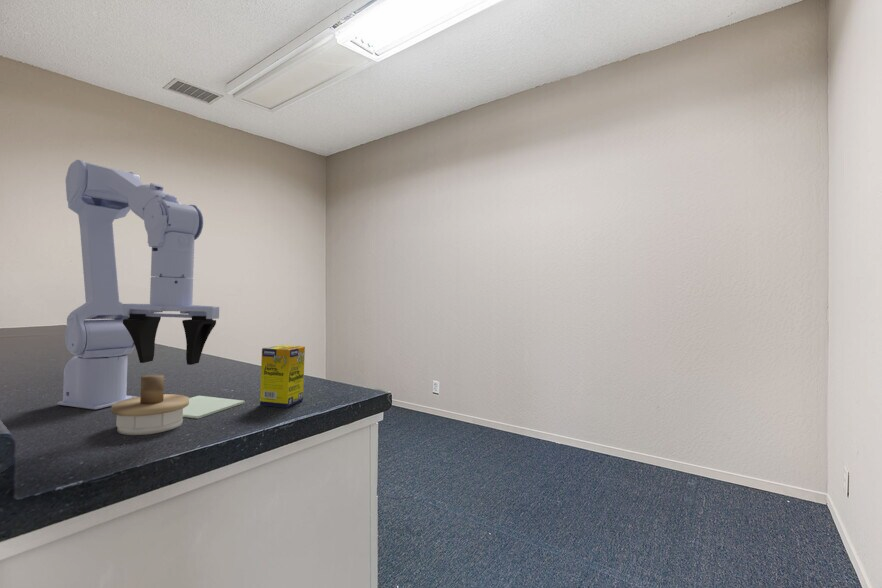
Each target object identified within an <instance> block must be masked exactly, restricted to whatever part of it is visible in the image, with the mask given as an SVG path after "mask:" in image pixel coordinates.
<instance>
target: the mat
mask: <svg viewBox="0 0 882 588" xmlns="http://www.w3.org/2000/svg"><path fill="white" fill-rule="evenodd" d="M188 398H189V405H188V406H186V407H184V408H183V418H190V419H197V420H198V419H201V418H204V417H208V416H210V415H214V414H216V413H219V412H222V411H225V410H228V409H231V408H234V407H236V406H239V405H242V404H246V401H245V400H241V399H234V398H233V399H232V398H225V397H224V398H223V397H214V396H207V395H196V396H193V397H188Z"/></svg>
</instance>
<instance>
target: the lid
mask: <svg viewBox="0 0 882 588" xmlns="http://www.w3.org/2000/svg"><path fill="white" fill-rule="evenodd" d="M164 387H165V375H164V374H148V375H143V376H140V396H135V397H134V398H130V399H125V400H122V401H119V402H116V403H114V404H113V405H112V406H111V409H110V410H111V413H112V414H113V415H115V416H117V415H119V416H147V415H156V414H163V413H168V412H172V411H176V410H179V409H182V408H184V407H186V406H188V405H189V398H190V397H189V396H187V395H185V394H184V395H183V394H175V393H174V394H172V393H171V394H170V393H169V394H168V393H165V391H164V390H165V388H164ZM164 393H165V394H164Z"/></svg>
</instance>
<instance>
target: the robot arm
mask: <svg viewBox="0 0 882 588" xmlns="http://www.w3.org/2000/svg"><path fill="white" fill-rule="evenodd" d="M65 190H66V193H65V194H66V202H67V205H68V206H67V209H69V210H71V211H73V213H75V214H77V215H78V223H79V233H80V234H79V235H80V246H81V258H82V270H83V272H82V274H83V283H84V296H85V297H84V298H85V303H83V304H82V305H80V306H78V307H77V308H75V309H74V310H72V311H71V312H69V315H68V316H67V318H66V329H65V333H64V343H65V347H66V350H67V351H68V352H69V353H70V354H72V355H73V357H71V358H70V359H69V360H68V361H67V363H65V366H64V367H63V368H64V369H63V387H62V388H63V389H62V390H63V391H62V400H60V401H58V402H57V403H56V404H57V405H59V406H65V407H75V408H81V409H88V410H99V409H103V408H108V407H112V405H113V404H114V403H116V402H119V401H122V400H125V399H130V398H134V397H136V395H135V396H134V395H127V388H128V387H127V385H128V378H127V377H128V357H129V356H128V355H129V354H131V355H132V353H133V351H134V349H135V350H136V353H137V356H138V361H139V363H141V364H144V363H149V362H153V361H154V357H155V349H156V348H155V345H156V336H157V332H158V328H159V324H160V322H161V318H183V319H182V321H181V322H182V327H183V330H184V334H185V341H186V347H185V348H186V349H185V350H186V351H185V359H186V364H187V366H192V365H196V364H199V363H200V359H201V355H202V353H203V349H204V347H205V345H206V342H207V341H208V337H209V335H210V334H211V332H212V330H213V329H214V328H215V326H216V325H217V320H216V319H219V318H220V306H215V305H213V306H212V305H210V306H209V305H194V304H193V299H194V298H193V296H194V295H193V294H194V293H193V292H194V267H195V265H194V264H195V263H194V262H195V261H194V259H195V240H197V239H199V237H200V236H201V234H202V232H203V227H204V216H203V213H202V211H201V210H200V209H199V208H198V206H197V205H196V204H195V205H194V204H184V203H181V202H179V200H177V199H178V198H177V197H176V196H175V195H172V194H169V193H166V192H165V191H164V186H162V185H161V184H157V183H152V182H151V183H150V184H144V183H143V182H142V181H141V176H140V175H139V174H137V173H136V172H132V171H124V170H121V169H116V168H113V167H107V166H103V165H99V164H95V163H90V162H87V161H84V160H83V159H82V160H81V159H75V160H74V161H73V162H71V163H70V164H69V166H68V168H67V172H66V176H65ZM130 211H131V212H132V213H134V214H135V215H136V216H138V218H140V219H141V220H142V221H143V223H144V228H145V231H146V235H147V245H148V247H149V248H151V255H150V256H151V258H150V259H151V260H150V263H151V264H150V285H149V286H150V291H149V293H150V295H149V303H124V302H121V301H120V296H119V295H120V294H119V282H118V272H117V270H118V269H117V262H116V261H117V258H116V248H115V238H114V236H115V235H114V227H113V226H114V225H113V222H114V221H115V220H119V219H122V218H125V217H126V216H128V215H127V214H128V213H129V212H130ZM163 312H179V313H163ZM184 318H185V319H184Z"/></svg>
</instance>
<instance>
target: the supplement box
mask: <svg viewBox="0 0 882 588" xmlns="http://www.w3.org/2000/svg"><path fill="white" fill-rule="evenodd" d="M305 348H306V346H301V345H288V344H287V345H284V344H278V345H275V346H270V347H269V346H268V347H262V348H261V363H260V364H261V366H260V368H261V369H260V388H259V389H260V392H259V393H260V397H259V405H260V406H264V407H265V406H266V407H276V408H285V409H287V408H289V407H290V406H294V405H295V404H298V403H300V401H301V402H303V401H304V387H305V386H304V383H305V381H304V380H305V351H306V349H305ZM302 400H303V401H302Z"/></svg>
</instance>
